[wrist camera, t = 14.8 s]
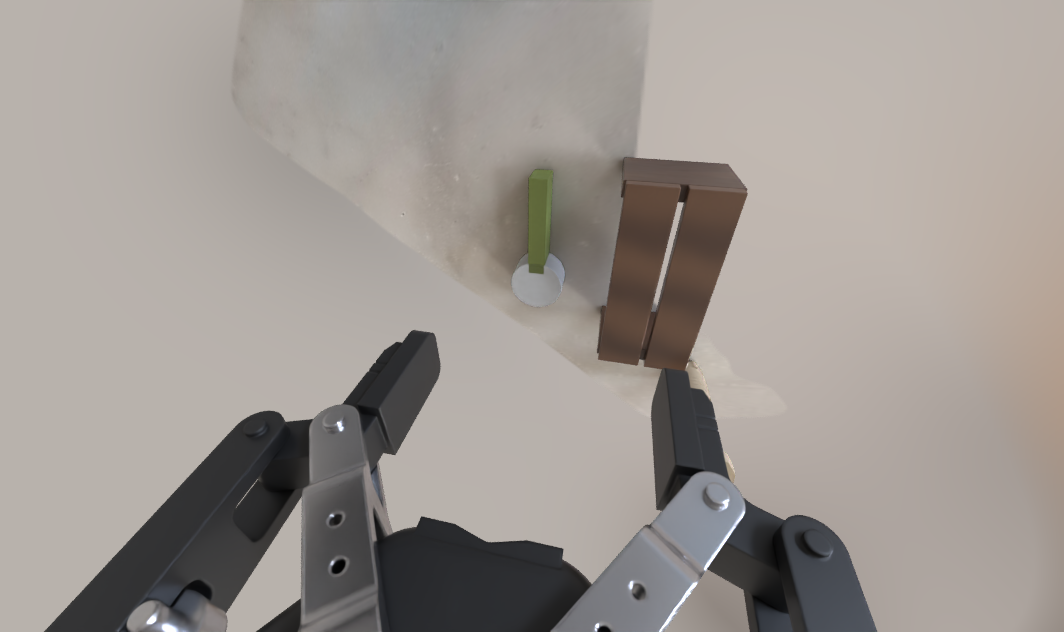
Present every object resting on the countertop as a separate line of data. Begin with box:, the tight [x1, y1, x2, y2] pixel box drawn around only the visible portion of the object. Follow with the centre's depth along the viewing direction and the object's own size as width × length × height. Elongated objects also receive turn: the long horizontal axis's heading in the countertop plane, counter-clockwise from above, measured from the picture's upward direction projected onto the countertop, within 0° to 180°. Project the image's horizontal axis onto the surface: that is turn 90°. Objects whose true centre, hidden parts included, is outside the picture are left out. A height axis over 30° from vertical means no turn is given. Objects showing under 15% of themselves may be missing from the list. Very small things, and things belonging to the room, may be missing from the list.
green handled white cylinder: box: [511, 169, 565, 307], centre depth 40 cm, size 14×6×3 cm, turn 179°
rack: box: [597, 157, 747, 371], centre depth 36 cm, size 18×9×8 cm, turn 179°
